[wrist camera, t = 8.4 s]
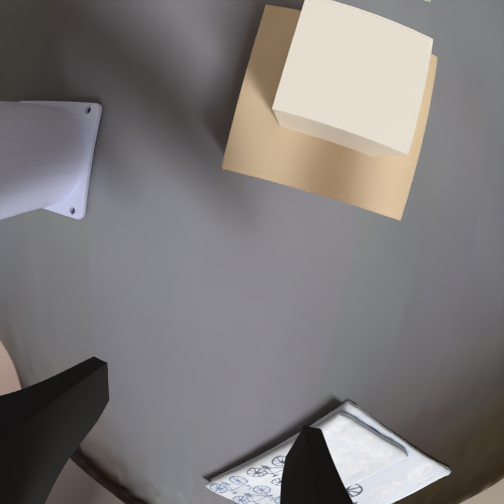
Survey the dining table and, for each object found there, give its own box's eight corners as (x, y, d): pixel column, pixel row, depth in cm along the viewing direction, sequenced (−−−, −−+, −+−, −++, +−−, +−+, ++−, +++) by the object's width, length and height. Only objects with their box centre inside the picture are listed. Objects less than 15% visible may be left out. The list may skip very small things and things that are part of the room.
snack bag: (346, 392, 21) (348, 411, 19) (450, 464, 23) (455, 478, 21) (203, 475, 27) (199, 489, 25) (325, 526, 29) (325, 538, 27)
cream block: (280, 126, 14) (272, 108, 9) (304, 43, 12) (306, -6, 8) (372, 156, 13) (408, 155, 9) (394, 72, 12) (433, 39, 7)
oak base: (233, 167, 17) (221, 168, 15) (271, 26, 15) (266, 4, 12) (384, 210, 17) (400, 220, 14) (418, 70, 14) (437, 56, 11)
